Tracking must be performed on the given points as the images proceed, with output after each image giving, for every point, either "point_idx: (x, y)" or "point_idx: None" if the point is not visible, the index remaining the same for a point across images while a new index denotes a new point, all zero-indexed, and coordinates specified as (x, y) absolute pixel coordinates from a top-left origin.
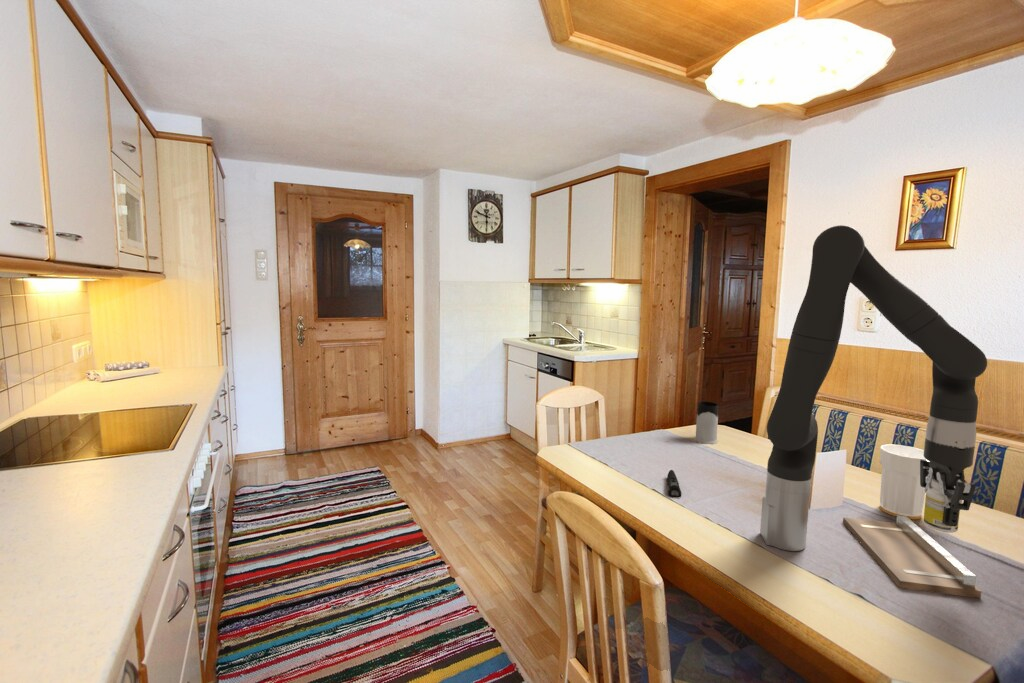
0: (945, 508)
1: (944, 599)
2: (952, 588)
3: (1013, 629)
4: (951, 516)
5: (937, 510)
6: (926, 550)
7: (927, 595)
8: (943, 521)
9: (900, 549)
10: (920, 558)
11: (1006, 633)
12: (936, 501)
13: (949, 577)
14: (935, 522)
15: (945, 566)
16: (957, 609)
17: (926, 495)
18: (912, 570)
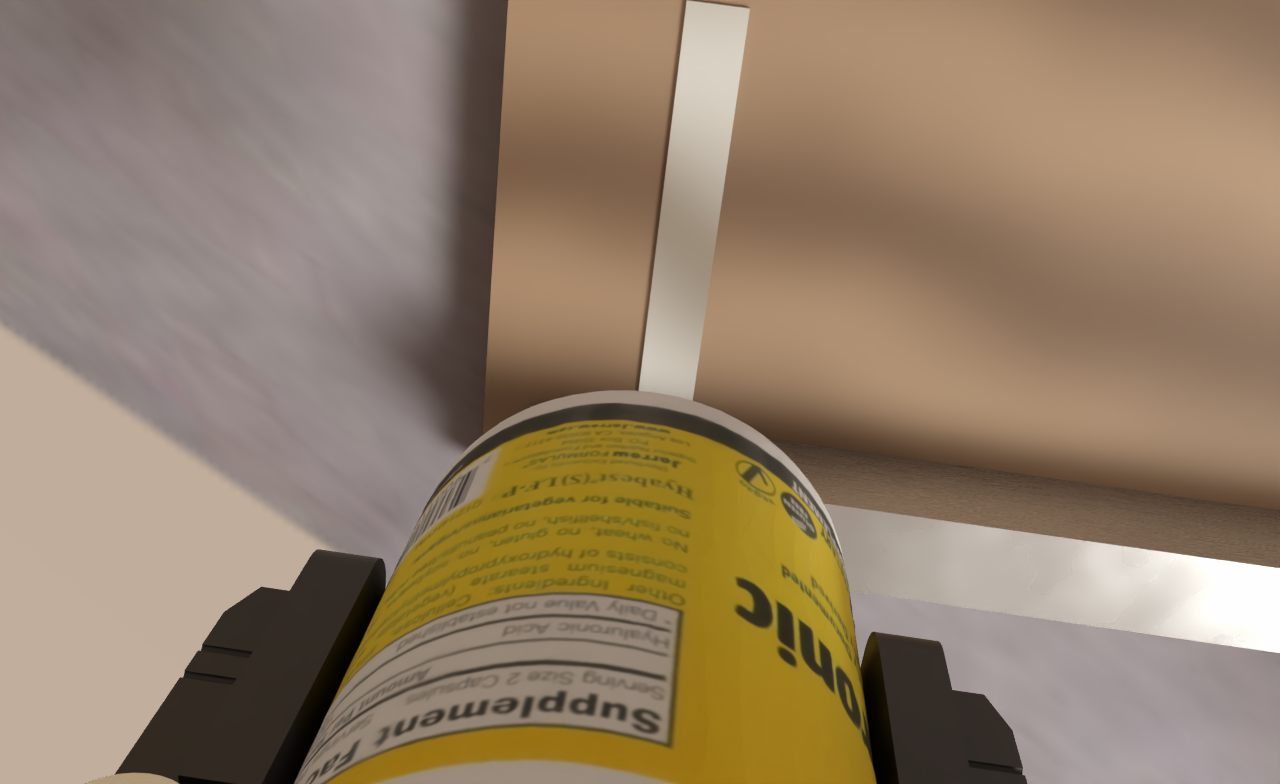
0: (207, 759)
1: (413, 159)
2: (493, 297)
3: (129, 402)
4: (166, 707)
5: (395, 639)
6: (1113, 497)
7: (446, 42)
8: (336, 569)
9: (1176, 267)
10: (986, 352)
11: (59, 318)
12: (351, 768)
13: (650, 384)
14: (468, 485)
15: (795, 458)
16: (282, 168)
17: (678, 774)
18: (746, 113)
